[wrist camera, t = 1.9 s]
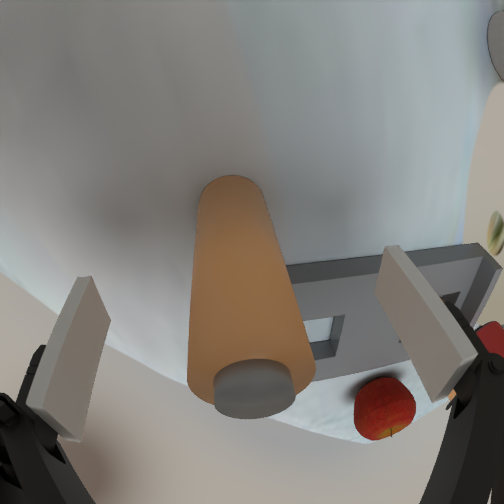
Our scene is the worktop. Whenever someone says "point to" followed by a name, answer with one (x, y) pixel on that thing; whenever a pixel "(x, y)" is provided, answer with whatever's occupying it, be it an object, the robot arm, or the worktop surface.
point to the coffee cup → (497, 42)
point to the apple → (383, 408)
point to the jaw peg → (243, 308)
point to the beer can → (492, 337)
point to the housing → (370, 310)
